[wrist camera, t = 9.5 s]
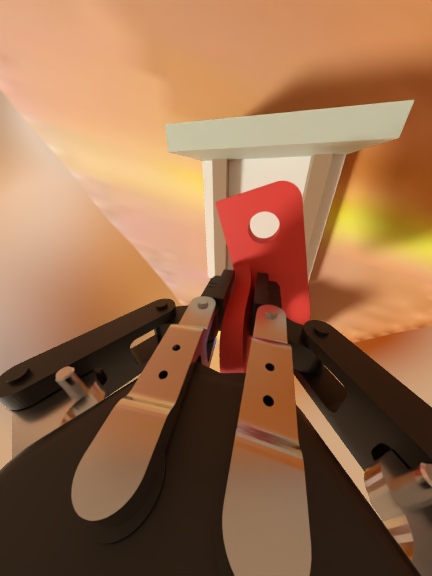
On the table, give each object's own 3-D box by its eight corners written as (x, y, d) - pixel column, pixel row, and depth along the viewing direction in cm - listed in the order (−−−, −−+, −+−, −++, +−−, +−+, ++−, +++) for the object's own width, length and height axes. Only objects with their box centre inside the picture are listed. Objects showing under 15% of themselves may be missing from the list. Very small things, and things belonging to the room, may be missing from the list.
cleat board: (346, 136, 17) (414, 99, 9) (304, 282, 25) (321, 329, 17) (205, 145, 20) (165, 124, 12) (210, 273, 28) (188, 309, 20)
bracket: (310, 336, 15) (337, 461, 8) (256, 337, 16) (243, 440, 10) (298, 174, 9) (348, 169, 3) (220, 200, 11) (144, 232, 5)
